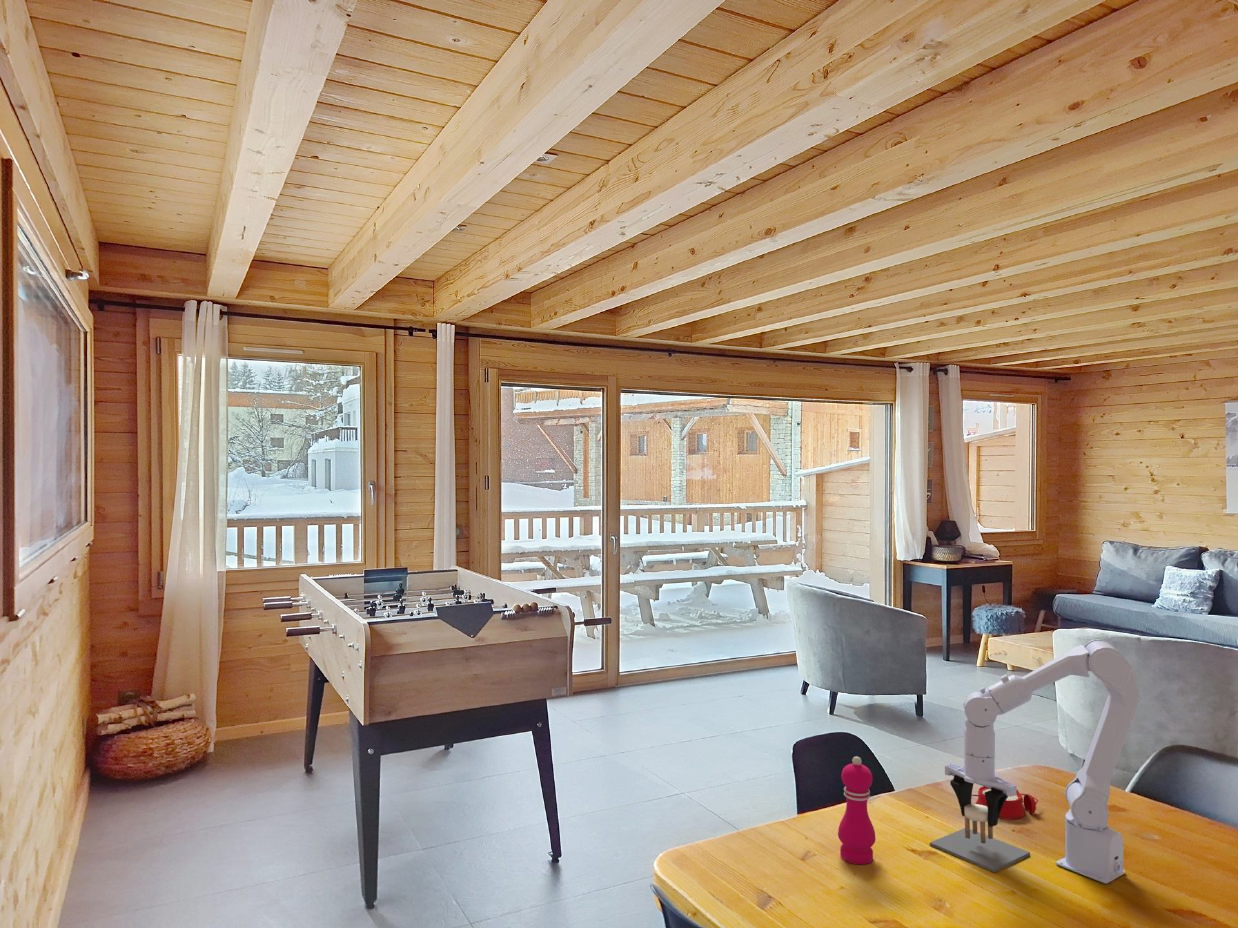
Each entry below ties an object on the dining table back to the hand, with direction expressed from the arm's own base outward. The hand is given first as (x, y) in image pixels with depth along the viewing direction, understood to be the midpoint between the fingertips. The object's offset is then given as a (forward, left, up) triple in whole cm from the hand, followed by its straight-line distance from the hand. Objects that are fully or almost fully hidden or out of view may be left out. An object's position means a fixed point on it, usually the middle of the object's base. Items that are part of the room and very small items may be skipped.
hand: (979, 819), depth 166 cm
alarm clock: (+8, -25, -7) cm, 27 cm away
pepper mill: (+12, +23, -6) cm, 27 cm away
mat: (0, 0, -6) cm, 6 cm away
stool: (0, 0, -3) cm, 3 cm away
